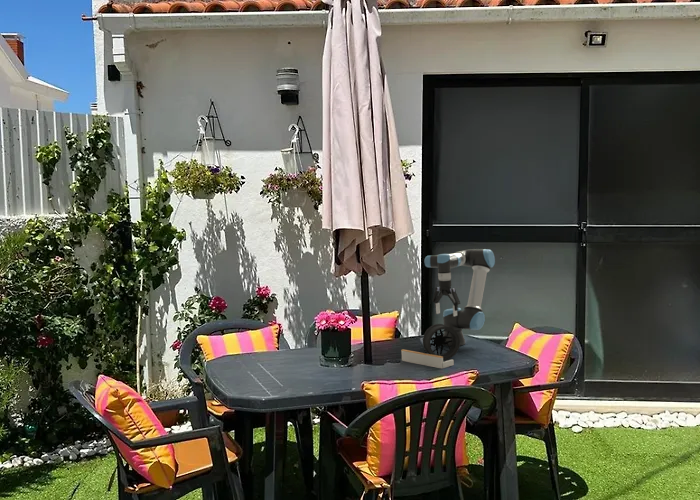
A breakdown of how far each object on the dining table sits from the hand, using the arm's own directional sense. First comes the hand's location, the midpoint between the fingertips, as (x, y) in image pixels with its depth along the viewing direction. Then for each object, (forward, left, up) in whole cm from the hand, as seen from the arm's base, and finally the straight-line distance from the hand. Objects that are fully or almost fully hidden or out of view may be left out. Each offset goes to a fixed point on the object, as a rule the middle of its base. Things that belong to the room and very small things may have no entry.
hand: (446, 314), depth 388 cm
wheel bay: (+21, +2, -25) cm, 33 cm away
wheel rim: (+8, +2, -25) cm, 26 cm away
